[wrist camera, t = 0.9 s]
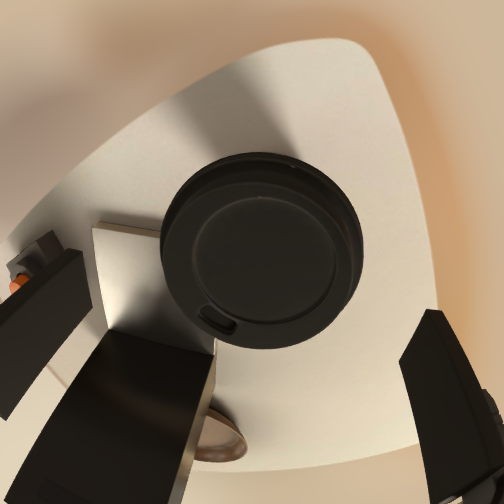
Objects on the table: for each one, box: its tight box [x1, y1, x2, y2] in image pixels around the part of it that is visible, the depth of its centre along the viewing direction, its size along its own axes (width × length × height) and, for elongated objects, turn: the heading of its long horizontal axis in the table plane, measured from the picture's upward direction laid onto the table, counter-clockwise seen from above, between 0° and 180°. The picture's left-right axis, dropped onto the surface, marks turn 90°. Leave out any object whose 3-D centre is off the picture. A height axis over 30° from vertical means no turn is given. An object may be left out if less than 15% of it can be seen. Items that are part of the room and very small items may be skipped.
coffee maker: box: [4, 222, 217, 504], centre depth 22 cm, size 22×14×28 cm, turn 173°
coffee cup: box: [159, 152, 364, 349], centre depth 19 cm, size 9×9×15 cm
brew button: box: [10, 274, 29, 294], centre depth 29 cm, size 4×4×2 cm
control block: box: [6, 230, 64, 281], centre depth 31 cm, size 10×8×5 cm
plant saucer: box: [194, 408, 248, 463], centre depth 43 cm, size 21×21×3 cm
